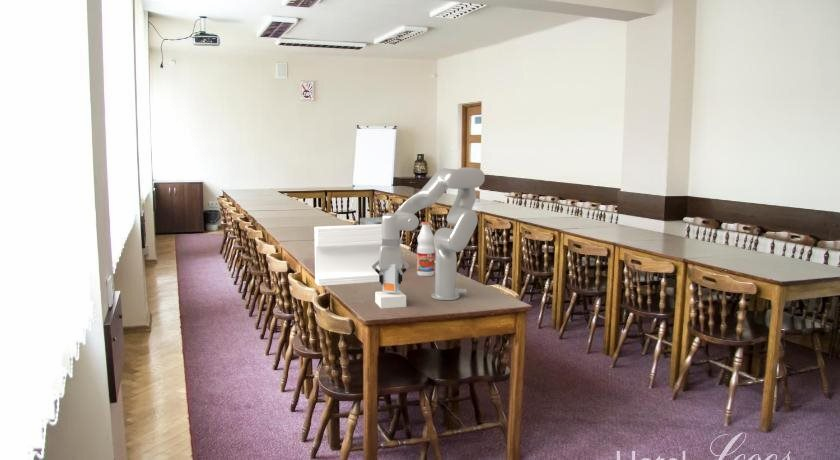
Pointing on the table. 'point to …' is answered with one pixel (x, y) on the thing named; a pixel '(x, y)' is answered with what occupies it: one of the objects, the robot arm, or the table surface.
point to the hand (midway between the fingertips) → (390, 283)
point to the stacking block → (390, 299)
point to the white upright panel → (347, 254)
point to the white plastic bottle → (425, 251)
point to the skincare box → (391, 279)
